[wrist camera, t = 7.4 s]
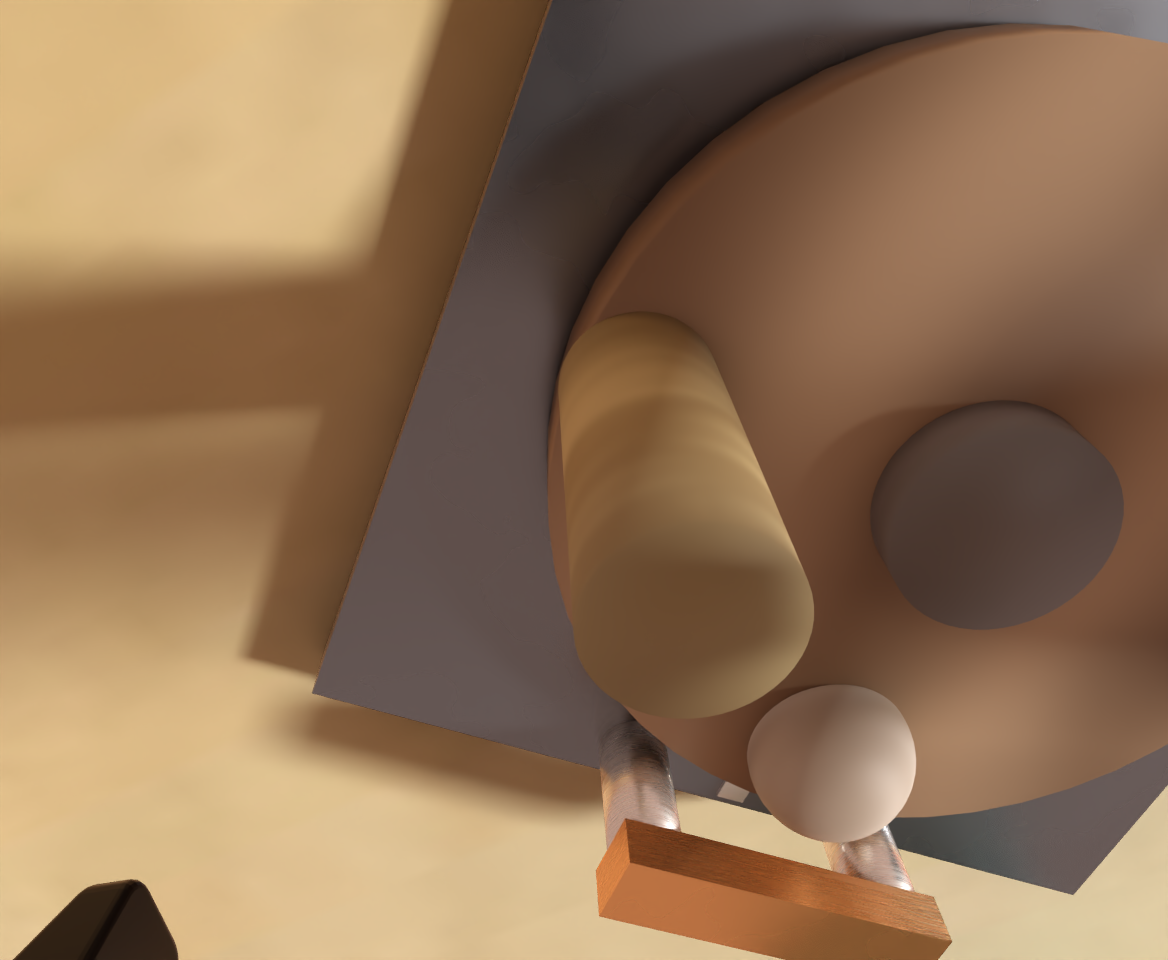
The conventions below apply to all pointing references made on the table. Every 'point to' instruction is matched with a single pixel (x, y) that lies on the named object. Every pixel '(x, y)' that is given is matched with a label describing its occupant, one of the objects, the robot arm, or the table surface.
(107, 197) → the table surface
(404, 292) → the table surface
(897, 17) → the level stand
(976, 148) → the cam dial
